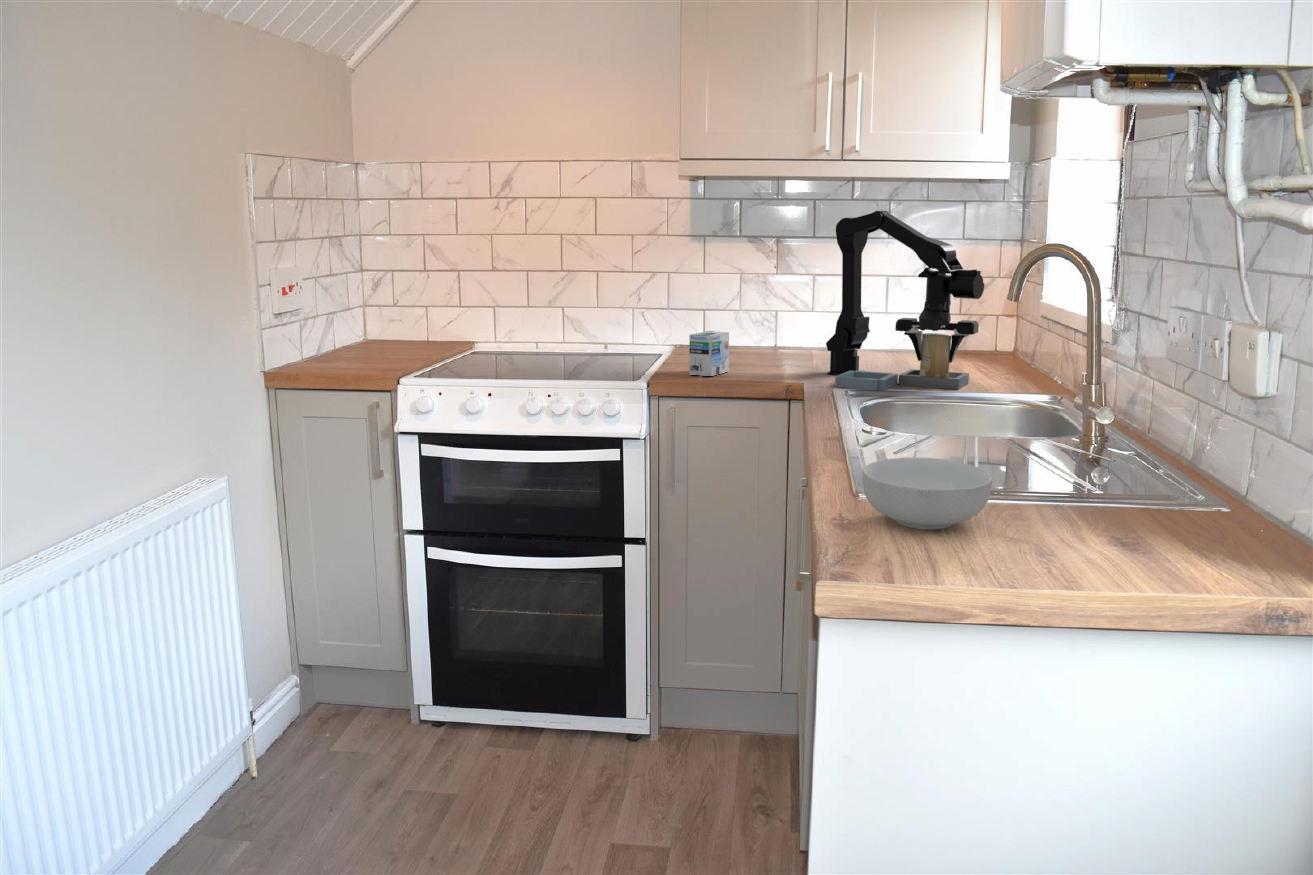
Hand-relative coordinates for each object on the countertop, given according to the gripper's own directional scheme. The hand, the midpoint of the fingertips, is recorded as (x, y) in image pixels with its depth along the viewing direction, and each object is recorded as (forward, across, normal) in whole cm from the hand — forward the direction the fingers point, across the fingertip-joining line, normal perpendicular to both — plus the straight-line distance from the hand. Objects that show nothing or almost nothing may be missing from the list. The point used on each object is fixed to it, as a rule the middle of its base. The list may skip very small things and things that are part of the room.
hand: (934, 361), depth 252 cm
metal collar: (+6, 0, 0) cm, 6 cm away
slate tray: (+6, -14, -9) cm, 18 cm away
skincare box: (+6, 0, 0) cm, 6 cm away
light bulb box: (+6, -56, -10) cm, 57 cm away
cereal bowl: (+6, +28, -115) cm, 119 cm away
